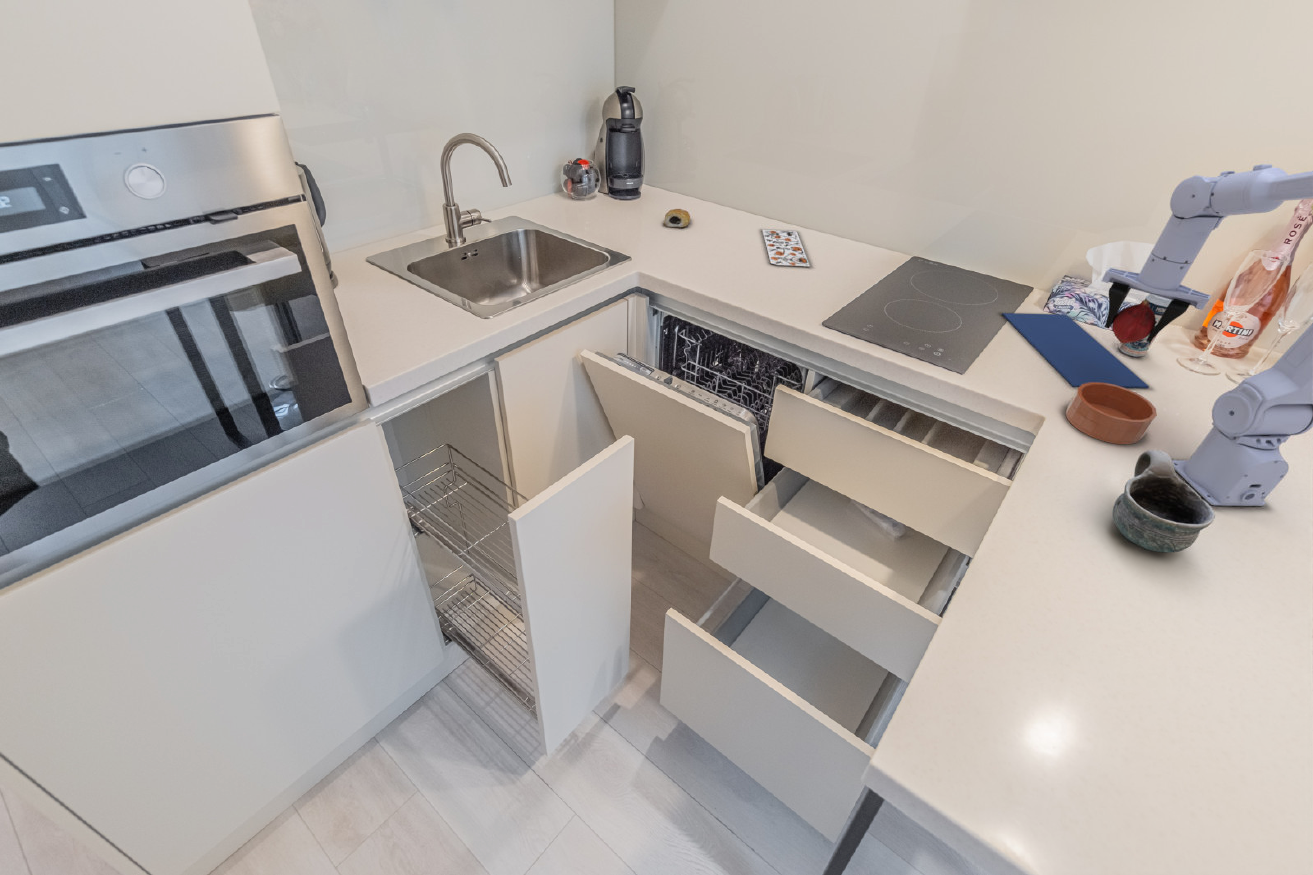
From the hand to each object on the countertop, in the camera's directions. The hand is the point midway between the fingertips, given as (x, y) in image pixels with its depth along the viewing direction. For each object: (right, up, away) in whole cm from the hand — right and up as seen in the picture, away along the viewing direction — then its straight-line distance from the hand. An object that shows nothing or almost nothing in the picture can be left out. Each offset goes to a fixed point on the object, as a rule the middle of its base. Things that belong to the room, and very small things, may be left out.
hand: (1128, 332), depth 107 cm
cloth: (+1, 0, +17) cm, 16 cm away
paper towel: (-48, +31, +53) cm, 78 cm away
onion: (0, -2, +1) cm, 2 cm away
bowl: (-7, -16, -3) cm, 17 cm away
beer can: (+13, -1, +16) cm, 21 cm away
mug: (-16, -31, -22) cm, 41 cm away
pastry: (-75, +41, +65) cm, 108 cm away
